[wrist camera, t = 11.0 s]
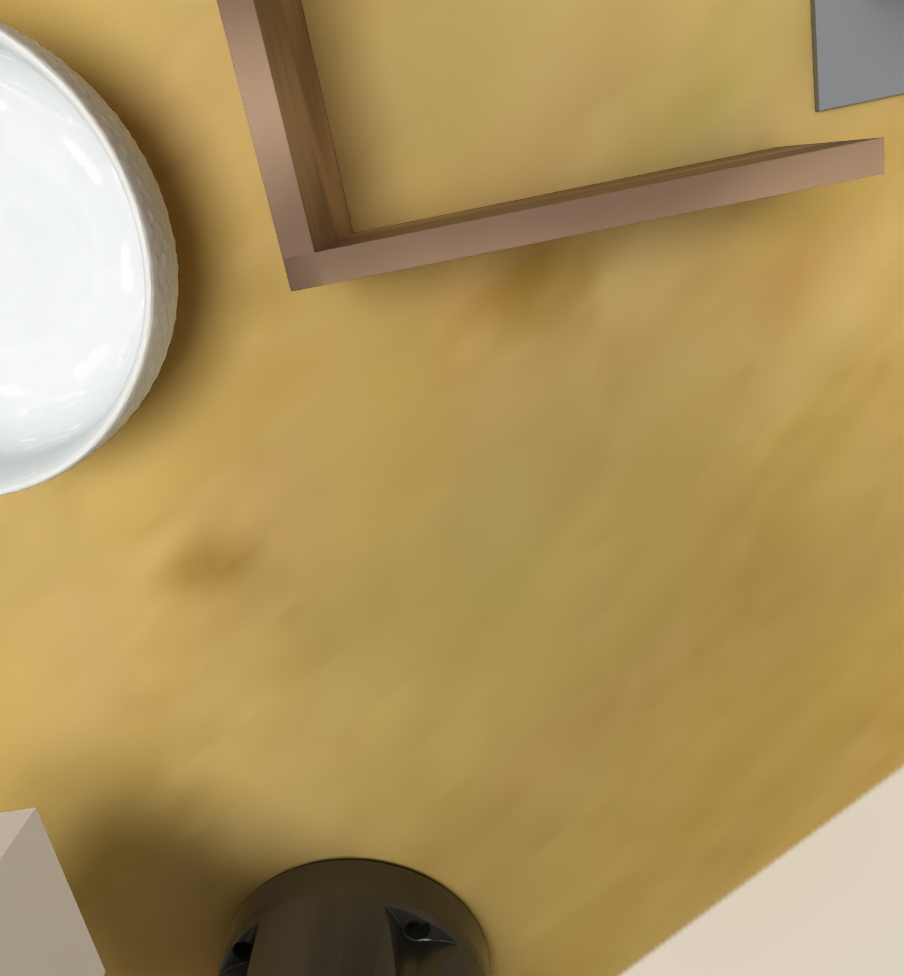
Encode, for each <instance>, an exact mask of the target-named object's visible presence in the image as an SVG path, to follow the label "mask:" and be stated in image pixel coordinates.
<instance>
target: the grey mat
mask: <svg viewBox="0 0 904 976" xmlns="http://www.w3.org/2000/svg"><path fill="white" fill-rule="evenodd" d="M811 16H812V41H813V65H814V90H815V111H821V110H826V109H830V108H835V107H840V106H845V105H850V104H855V103H859V102H864V101H869V100H874V99H879V98H884V97H889V96H893V95H898V94H903V93H904V0H811Z"/></svg>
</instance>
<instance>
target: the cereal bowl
mask: <svg viewBox="0 0 904 976" xmlns="http://www.w3.org/2000/svg"><path fill="white" fill-rule="evenodd" d="M175 245H176V241H175V239H174V237H173V233H172V226H171V224H170V221H169V216H168V210H167V208H166V206H165V204H164V200H163V196H162V194H161V192H160V189H159V184H158V183H157V181H156V179H155V178H154V176H153V173H152V170H151V168H150V167H149V165H148V163H147V160H146V158H145V156H144V155H143V154H142V152H141V151H140V150H139V148H138V145H137V143H136V141H135V140H134V139H133V138H132V136H131V135H130V132H129V131H128V130H127V129H126V127H125V125H124V124H123V123H122V122H121V121H120V119H119V117H118V115H117V114H116V113H115V112H114V111H113V110H112V109H111V108H110V107H109V106H108V105H107V103H106V101H105V100H104V99H103V98H102V97H100V96H99V95H98V93H97V91H96V90H95V89H93V88H92V87H91V86H90V85H89V84H88V83H87V82H85V81H84V79H83V78H82V77H81V76H80V75H79V74H77V73H76V72H75V71H73V70H72V69H71V68H70V67H69V66H68V65H67V64H66V63H65V62H64V61H63V60H61V59H59V58H57V57H56V56H55V55H54V54H53V53H52V52H51V51H49V50H47V49H46V48H44V47H43V46H42V45H40V44H38V43H37V42H36V41H35V40H34V39H32V38H29V37H27V36H25V35H24V34H23V33H21V32H18V31H17V30H16V29H15V28H13V27H12V26H9V25H6V24H5V23H3V22H0V495H5V494H10V493H13V492H17V491H21V490H24V489H27V488H30V487H33V486H35V485H38V484H41V483H43V482H46V481H48V480H50V479H52V478H54V477H56V476H57V475H59V474H61V473H63V472H65V471H67V470H69V469H71V468H72V467H74V466H75V465H76V464H78V463H79V462H80V461H82V460H84V459H85V458H87V457H88V456H89V455H90V454H91V453H93V452H95V451H96V450H97V449H98V448H99V447H101V446H102V445H103V444H104V443H105V442H106V441H107V440H108V439H110V437H112V436H113V435H115V433H116V432H117V430H118V429H119V428H121V427H122V426H123V425H124V424H125V423H126V422H127V420H128V419H129V417H130V416H131V415H132V413H134V412H135V411H136V410H137V409H138V407H139V406H140V404H141V402H142V400H143V399H144V398H145V397H146V395H147V393H149V391H150V390H151V387H152V384H153V382H154V381H155V379H156V378H157V377H158V373H159V372H160V369H161V366H162V364H163V362H164V359H165V358H166V356H167V350H168V346H169V344H170V342H171V337H172V335H173V327H174V323H175V321H176V310H177V298H178V295H179V291H178V283H179V282H178V270H179V266H178V263H177V254H176V250H175Z"/></svg>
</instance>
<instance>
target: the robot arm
mask: <svg viewBox="0 0 904 976" xmlns="http://www.w3.org/2000/svg"><path fill="white" fill-rule="evenodd" d="M104 975H105V969H104V967H103V964H102V962H101V960H100V957H99V955H98V953H97V950H96V948H95V946H94V943H93V941H92V939H91V936H90V934H89V931H88V929H87V927H86V924H85V922H84V920H83V917H82V915H81V913H80V910H79V908H78V905H77V903H76V901H75V898H74V896H73V894H72V891H71V889H70V887H69V884H68V882H67V880H66V877H65V875H64V872H63V870H62V868H61V865H60V863H59V861H58V858H57V856H56V854H55V851H54V849H53V846H52V844H51V842H50V839H49V837H48V835H47V832H46V830H45V828H44V825H43V823H42V821H41V818H40V816H39V813H38V811H37V809H36V807H35V808H28V809H22V810H15V811H9V812H2V813H0V976H104ZM216 976H490V970H489V953H488V948H487V944H486V941H485V938H484V935H483V933H482V931H481V929H480V927H479V925H478V923H477V922H476V920H475V918H474V917H473V916H472V914H471V913H470V912H469V911H468V909H467V908H466V907H465V906H464V905H463V904H462V903H461V902H460V901H459V900H458V899H457V898H456V897H455V896H453V895H452V894H451V893H450V892H448V891H447V890H446V889H444V888H443V887H441V886H440V885H438V884H436V883H435V882H433V881H431V880H429V879H427V878H426V877H423V876H421V875H419V874H417V873H414V872H412V871H409V870H406V869H403V868H400V867H397V866H393V865H389V864H384V863H379V862H372V861H362V860H335V861H326V862H320V863H314V864H310V865H306V866H302V867H299V868H296V869H293V870H290V871H288V872H285V873H283V874H281V875H279V876H277V877H275V878H273V879H272V880H270V881H268V882H267V883H265V884H264V885H262V886H261V887H260V888H258V889H257V890H256V891H255V892H254V893H253V894H251V895H250V896H249V897H248V899H247V900H246V901H245V902H244V903H243V904H242V906H241V907H240V908H239V910H238V911H237V913H236V914H235V916H234V918H233V920H232V923H231V925H230V928H229V931H228V934H227V937H226V940H225V943H224V946H223V949H222V953H221V956H220V959H219V963H218V968H217V975H216Z"/></svg>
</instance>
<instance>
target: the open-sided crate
mask: <svg viewBox="0 0 904 976" xmlns="http://www.w3.org/2000/svg"><path fill="white" fill-rule="evenodd" d="M217 3H218V7H219V11H220V15H221V19H222V23H223V26H224V30H225V34H226V38H227V42H228V46H229V50H230V54H231V58H232V62H233V66H234V70H235V73H236V77H237V81H238V85H239V89H240V93H241V97H242V101H243V105H244V109H245V113H246V116H247V120H248V124H249V128H250V132H251V136H252V140H253V144H254V148H255V152H256V156H257V159H258V163H259V167H260V171H261V175H262V179H263V183H264V187H265V191H266V195H267V199H268V203H269V206H270V210H271V214H272V218H273V222H274V226H275V230H276V234H277V238H278V242H279V246H280V249H281V253H282V257H283V261H284V265H285V269H286V273H287V277H288V281H289V285H290V289H291V291H296V290H301V289H306V288H311V287H317V286H322V285H327V284H332V283H337V282H342V281H347V280H352V279H357V278H362V277H367V276H372V275H377V274H382V273H387V272H392V271H397V270H402V269H407V268H412V267H417V266H422V265H427V264H432V263H437V262H442V261H447V260H452V259H458V258H463V257H468V256H473V255H478V254H483V253H488V252H493V251H498V250H503V249H508V248H513V247H518V246H523V245H528V244H533V243H538V242H543V241H548V240H553V239H558V238H563V237H568V236H573V235H578V234H583V233H588V232H593V231H599V230H604V229H609V228H614V227H619V226H624V225H629V224H634V223H639V222H644V221H649V220H654V219H659V218H664V217H669V216H674V215H679V214H684V213H689V212H694V211H699V210H704V209H709V208H714V207H719V206H724V205H729V204H734V203H740V202H745V201H750V200H755V199H760V198H765V197H770V196H775V195H780V194H785V193H790V192H795V191H800V190H805V189H810V188H815V187H820V186H825V185H830V184H835V183H840V182H845V181H850V180H855V179H860V178H865V177H870V176H875V175H881V174H884V137H883V138H872V139H861V140H850V141H839V142H829V143H818V144H807V145H796V146H785V147H776V148H771V149H766V150H761V151H756V152H751V153H746V154H741V155H736V156H731V157H727V158H722V159H717V160H712V161H707V162H702V163H697V164H692V165H687V166H682V167H677V168H672V169H668V170H663V171H658V172H653V173H648V174H643V175H638V176H633V177H628V178H623V179H618V180H613V181H609V182H604V183H599V184H594V185H589V186H584V187H579V188H574V189H569V190H564V191H559V192H554V193H550V194H545V195H540V196H535V197H530V198H525V199H520V200H515V201H510V202H505V203H500V204H496V205H491V206H486V207H481V208H476V209H471V210H466V211H461V212H456V213H451V214H446V215H441V216H437V217H432V218H427V219H422V220H417V221H412V222H407V223H402V224H397V225H392V226H387V227H382V228H378V229H373V230H368V231H363V232H358V233H353V230H352V226H351V221H350V217H349V213H348V208H347V204H346V199H345V195H344V190H343V186H342V181H341V177H340V173H339V168H338V164H337V159H336V155H335V150H334V146H333V141H332V137H331V133H330V128H329V124H328V119H327V115H326V110H325V106H324V102H323V97H322V93H321V88H320V84H319V79H318V75H317V70H316V66H315V62H314V57H313V53H312V48H311V44H310V39H309V35H308V31H307V26H306V22H305V17H304V13H303V8H302V4H301V0H217Z"/></svg>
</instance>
